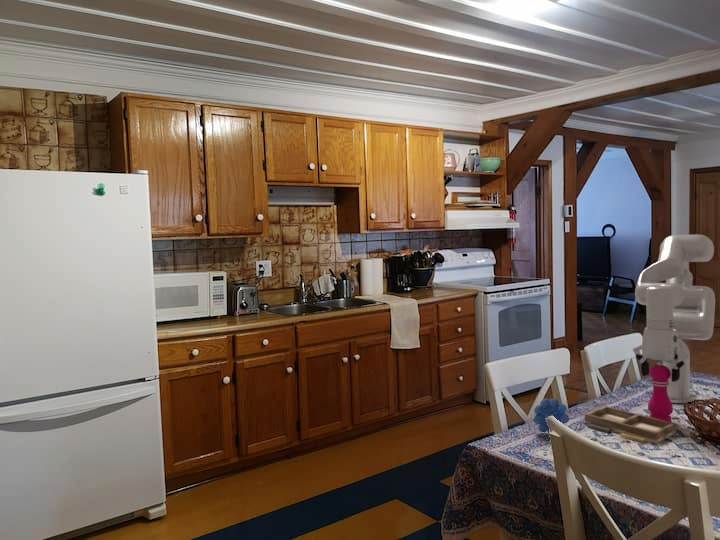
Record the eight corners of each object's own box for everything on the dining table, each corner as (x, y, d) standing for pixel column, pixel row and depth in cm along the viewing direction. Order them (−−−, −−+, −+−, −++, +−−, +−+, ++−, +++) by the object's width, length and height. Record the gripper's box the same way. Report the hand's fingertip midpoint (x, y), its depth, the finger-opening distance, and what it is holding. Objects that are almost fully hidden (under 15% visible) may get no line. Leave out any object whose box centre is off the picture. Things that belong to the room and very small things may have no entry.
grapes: (575, 435, 174) (575, 397, 173) (565, 442, 170) (564, 403, 169) (541, 427, 183) (540, 390, 182) (530, 433, 178) (529, 395, 177)
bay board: (605, 414, 191) (605, 405, 191) (676, 433, 173) (676, 423, 172) (580, 425, 183) (580, 416, 183) (651, 445, 164) (651, 435, 164)
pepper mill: (672, 426, 178) (672, 364, 176) (646, 423, 182) (646, 362, 180) (673, 419, 184) (673, 358, 182) (648, 416, 188) (648, 357, 186)
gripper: (694, 326, 176) (694, 380, 177) (639, 320, 190) (639, 370, 191) (682, 329, 171) (682, 385, 173) (627, 323, 185) (627, 375, 187)
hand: (660, 377), depth 182 cm, fingers open, 9 cm apart
